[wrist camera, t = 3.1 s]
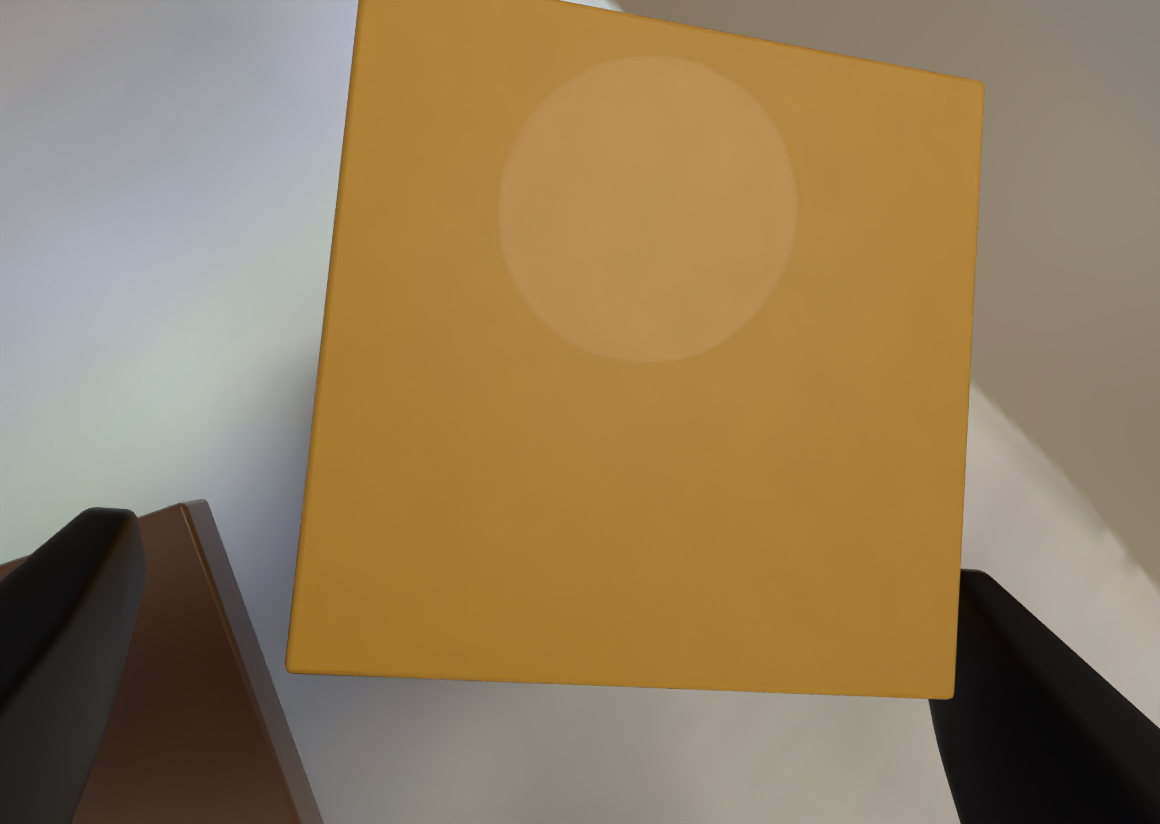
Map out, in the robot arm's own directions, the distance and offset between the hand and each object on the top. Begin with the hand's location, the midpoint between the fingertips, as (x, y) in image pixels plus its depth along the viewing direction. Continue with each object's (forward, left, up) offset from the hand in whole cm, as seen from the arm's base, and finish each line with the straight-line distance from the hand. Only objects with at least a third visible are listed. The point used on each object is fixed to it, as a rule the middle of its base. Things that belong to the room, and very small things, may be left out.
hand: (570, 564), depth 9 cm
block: (+2, -1, -9) cm, 9 cm away
